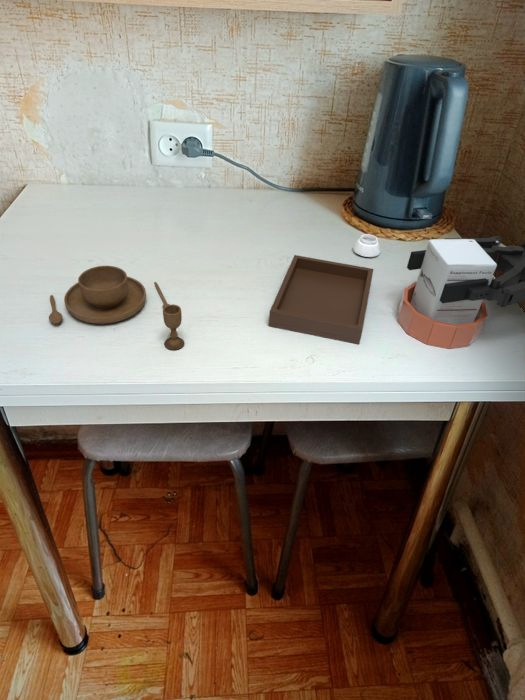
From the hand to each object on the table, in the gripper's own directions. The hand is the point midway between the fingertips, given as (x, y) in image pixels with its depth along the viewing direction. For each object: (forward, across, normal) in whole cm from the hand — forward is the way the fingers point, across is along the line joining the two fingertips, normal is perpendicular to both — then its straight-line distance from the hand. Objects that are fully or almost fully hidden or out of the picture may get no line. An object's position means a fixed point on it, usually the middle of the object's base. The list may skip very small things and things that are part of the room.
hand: (426, 276), depth 72 cm
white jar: (-4, +23, -9) cm, 25 cm away
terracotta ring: (-5, 0, -9) cm, 10 cm away
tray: (+11, +9, -9) cm, 17 cm away
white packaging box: (-5, 0, -9) cm, 10 cm away
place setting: (+43, +12, -9) cm, 46 cm away
